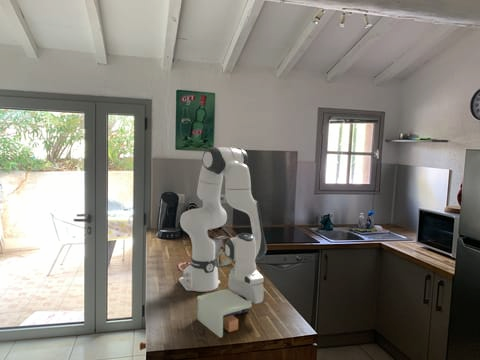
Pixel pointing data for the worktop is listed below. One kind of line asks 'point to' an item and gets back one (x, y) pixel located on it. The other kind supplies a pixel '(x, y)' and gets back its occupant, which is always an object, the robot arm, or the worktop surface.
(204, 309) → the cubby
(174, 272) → the worktop surface
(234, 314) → the hook tool
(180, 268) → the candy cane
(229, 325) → the cube
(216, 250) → the coffee box
